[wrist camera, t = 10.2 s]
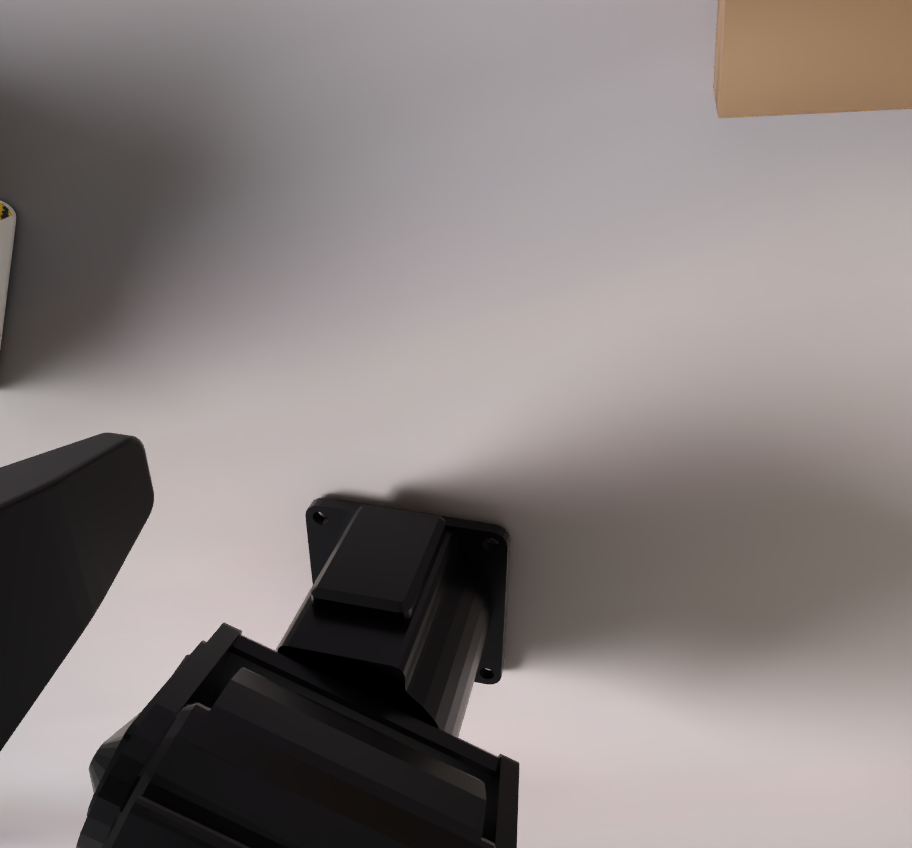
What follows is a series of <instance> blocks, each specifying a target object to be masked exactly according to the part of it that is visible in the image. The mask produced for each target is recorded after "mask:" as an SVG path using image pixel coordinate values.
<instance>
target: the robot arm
mask: <svg viewBox="0 0 912 848" xmlns="http://www.w3.org/2000/svg"><path fill="white" fill-rule="evenodd" d="M153 502H154V491H153V486H152V482H151V477H150V472H149V467H148V463H147V458H146V453H145V449H144V445H143V444H142V442H141V441H140V440H139V439H138V438H136V437H134V436H129V435H122V434H115V433H102V434H99V435H96V436H93V437H90V438H87V439H84V440H81V441H78V442H75V443H72V444H69V445H66V446H63V447H60V448H57V449H54V450H51V451H48V452H45V453H42V454H39V455H36V456H33V457H30V458H28V459H25V460H22V461H19V462H16V463H13V464H10V465H7V466H4V467H1V468H0V751H1V750H2V748H3V747H4V745H5V744H6V743H7V741H8V740H9V738H10V737H11V735H12V734H13V732H14V731H15V730H16V728H17V727H18V725H19V724H20V722H21V721H22V719H23V718H24V717H25V715H26V714H27V712H28V711H29V709H30V708H31V706H32V705H33V704H34V702H35V701H36V699H37V698H38V696H39V695H40V693H41V692H42V691H43V689H44V688H45V686H46V685H47V683H48V682H49V680H50V679H51V678H52V676H53V675H54V673H55V672H56V670H57V669H58V667H59V666H60V665H61V663H62V662H63V660H64V659H65V657H66V656H67V654H68V653H69V652H70V650H71V649H72V647H73V646H74V644H75V643H76V641H77V640H78V639H79V637H80V636H81V634H82V633H83V631H84V630H85V628H86V627H87V625H88V624H89V622H90V621H91V619H92V618H93V616H94V614H95V613H96V611H97V609H98V608H99V606H100V604H101V603H102V601H103V599H104V597H105V596H106V594H107V592H108V590H109V588H110V586H111V585H112V583H113V581H114V579H115V577H116V576H117V574H118V572H119V570H120V568H121V566H122V565H123V563H124V561H125V559H126V557H127V555H128V554H129V552H130V550H131V548H132V546H133V545H134V543H135V541H136V539H137V537H138V535H139V534H140V532H141V530H142V528H143V526H144V524H145V523H146V521H147V519H148V517H149V515H150V513H151V510H152V507H153ZM318 512H322V513H324V514H325V515H326V516H327V517H323V516H321V515H320V514H319V513H318ZM306 525H307V534H308V543H309V553H310V562H311V571H312V581H313V586H312V588H311V590H310V591H309V593H308V595H307V597H306V598H305V600H304V602H303V604H302V605H301V607H300V609H299V610H298V612H297V614H296V616H295V617H294V619H293V621H292V623H291V624H290V626H289V628H288V630H287V631H286V633H285V635H284V637H283V638H282V640H281V642H280V644H279V645H278V647H277V649H276V650H275V651H274V650H272V649H270V648H268V647H266V646H264V645H262V644H260V643H258V642H255V641H253V640H251V639H249V638H247V637H245V636H243V635H241V634H242V631H241V630H239V629H237V628H234V627H232V626H230V625H228V624H226V623H223V624H222V625H221V626H220V627H219V629H218V630H217V631H216V632H215V633H214V634H213V636H212V637H211V638H210V639H209V640H208V642H205V641H201V642H200V644H199V645H198V646H197V647H196V648H195V650H194V651H193V652H192V653H191V654H190V655H186V656H185V658H184V659H183V661H182V662H181V664H180V665H179V667H178V668H177V669H176V671H175V672H174V674H173V675H172V676H171V678H170V679H169V680H168V681H167V682H166V683H165V685H164V686H163V687H162V688H161V689H160V691H159V692H158V693H157V694H156V695H155V696H154V698H153V699H152V700H151V701H150V702H149V703H148V705H147V706H146V707H145V708H144V709H143V710H142V712H140V713H139V714H138V715H137V716H136V717H134V718H133V719H132V720H131V721H130V722H128V723H127V724H126V725H125V726H123V727H122V728H121V729H120V730H119V731H117V732H116V733H115V734H114V735H113V736H111V737H110V738H109V739H108V740H106V741H105V742H104V743H103V744H102V745H101V747H100V748H99V749H98V751H97V752H96V754H95V756H94V757H93V759H92V761H91V763H90V766H89V772H90V777H91V782H92V786H93V791H94V795H93V798H92V800H91V803H90V805H89V808H88V812H87V819H86V821H85V823H84V826H83V828H82V831H81V833H80V836H79V839H78V842H77V846H76V848H517V819H518V788H519V762H517V761H514V760H512V759H510V758H508V757H506V756H504V755H502V754H500V755H499V756H495V755H493V754H491V753H489V752H487V751H485V750H483V749H481V748H479V747H476V746H474V745H472V744H470V743H468V742H466V741H464V740H462V739H460V738H458V736H459V732H460V729H461V725H462V722H463V718H464V715H465V711H466V708H467V704H468V701H469V697H470V694H471V690H472V687H473V683H474V682H478V683H483V684H495V683H497V682H498V681H500V679H501V676H502V672H503V668H504V649H505V630H506V610H507V591H508V571H509V552H510V536H509V534H508V532H507V531H506V530H505V529H504V528H503V527H501V526H499V525H496V524H490V523H484V522H477V521H470V520H464V519H457V518H451V517H444V516H438V515H432V514H425V513H418V512H412V511H405V510H399V509H392V508H386V507H379V506H372V505H365V504H359V503H352V502H345V501H339V500H332V499H326V498H318V499H316V500H314V501H313V502H312V503H311V505H310V506H309V508H308V509H307V511H306ZM491 538H492V539H494V540H496V541H497V542H498V544H493V543H490V542H489V541H488V540H487V539H491ZM485 668H488V669H490V670H487V669H485Z"/></svg>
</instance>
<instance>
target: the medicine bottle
mask: <svg viewBox="0 0 912 848" xmlns="http://www.w3.org/2000/svg"><path fill="white" fill-rule="evenodd" d="M15 226H16V213H15V212H14V210H13V208H12V207H11V206H9V205H8V204H7V203H5V202H3V201H1V200H0V348H1V340H2V332H3V324H4V316H5V308H6V299H7V291H8V283H9V275H10V267H11V258H12V250H13V242H14V234H15Z"/></svg>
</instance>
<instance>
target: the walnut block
mask: <svg viewBox="0 0 912 848" xmlns="http://www.w3.org/2000/svg"><path fill="white" fill-rule="evenodd" d="M713 88H714V94H715V101H716V107H717V113H718V118H733V117H753V116H773V115H794V114H814V113H834V112H854V111H874V110H894V109H912V0H718V16H717V33H716V50H715V67H714V84H713Z"/></svg>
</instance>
